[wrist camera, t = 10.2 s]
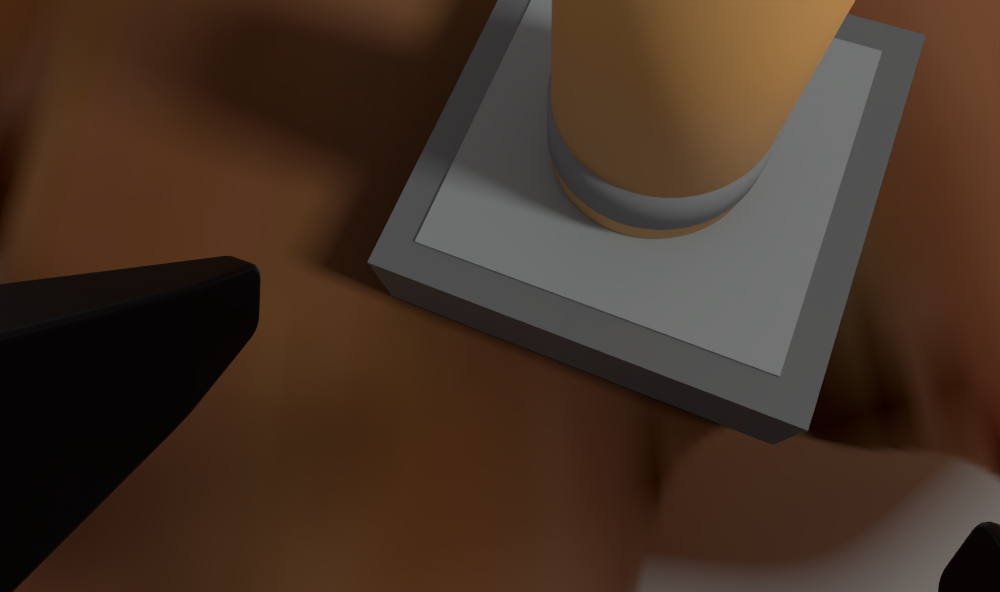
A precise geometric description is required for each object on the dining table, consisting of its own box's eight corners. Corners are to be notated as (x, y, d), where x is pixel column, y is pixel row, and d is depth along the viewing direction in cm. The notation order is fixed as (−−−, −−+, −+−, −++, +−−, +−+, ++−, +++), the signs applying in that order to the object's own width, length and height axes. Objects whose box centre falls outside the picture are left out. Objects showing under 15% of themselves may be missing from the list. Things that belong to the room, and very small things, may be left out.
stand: (773, 445, 20) (809, 429, 17) (392, 296, 22) (366, 260, 19) (881, 95, 23) (927, 32, 20) (536, -3, 26) (532, -73, 23)
